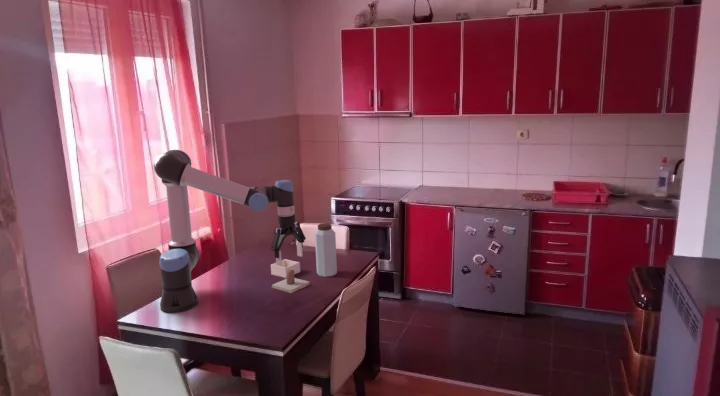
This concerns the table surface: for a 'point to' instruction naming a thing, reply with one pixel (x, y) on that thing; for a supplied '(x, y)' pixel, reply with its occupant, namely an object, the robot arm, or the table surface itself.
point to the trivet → (290, 292)
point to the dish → (285, 268)
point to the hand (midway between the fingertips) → (289, 260)
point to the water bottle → (325, 250)
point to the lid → (290, 282)
